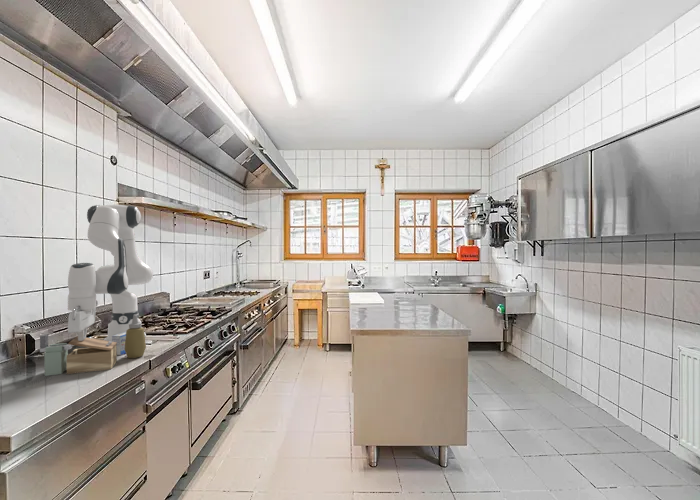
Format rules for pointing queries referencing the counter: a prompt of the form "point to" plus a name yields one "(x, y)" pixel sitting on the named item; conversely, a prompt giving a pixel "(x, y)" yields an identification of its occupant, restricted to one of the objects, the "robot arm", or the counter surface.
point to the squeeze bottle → (135, 339)
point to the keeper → (55, 359)
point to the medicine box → (120, 342)
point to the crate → (91, 360)
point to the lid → (94, 343)
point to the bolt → (45, 344)
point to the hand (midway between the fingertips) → (82, 340)
